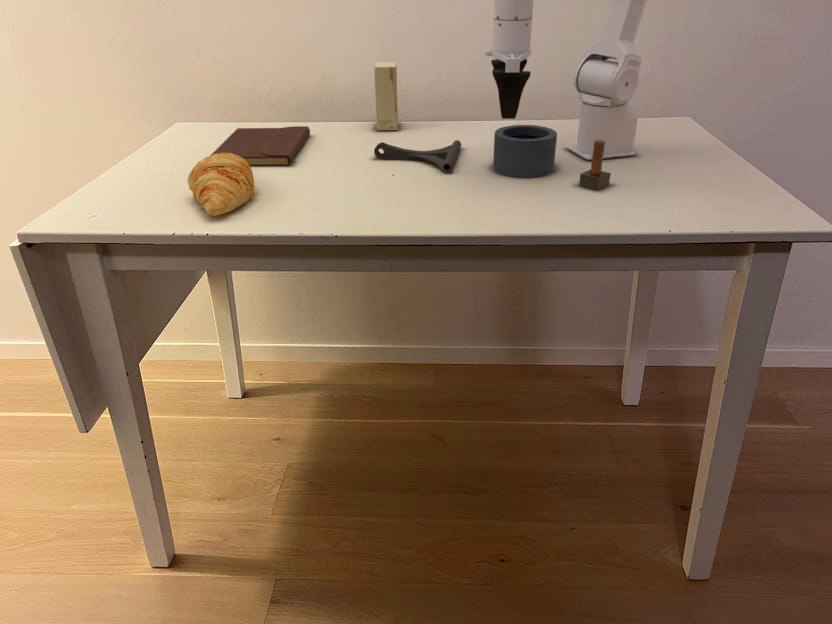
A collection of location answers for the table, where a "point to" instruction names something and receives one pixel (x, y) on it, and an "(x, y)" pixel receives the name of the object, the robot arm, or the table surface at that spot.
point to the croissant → (221, 182)
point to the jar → (524, 150)
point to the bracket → (421, 154)
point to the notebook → (266, 144)
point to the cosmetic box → (386, 95)
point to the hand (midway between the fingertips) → (507, 112)
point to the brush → (596, 170)
